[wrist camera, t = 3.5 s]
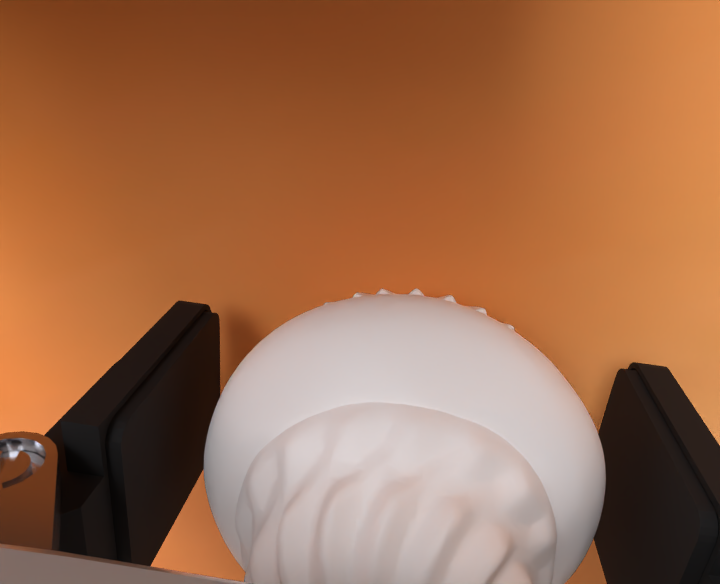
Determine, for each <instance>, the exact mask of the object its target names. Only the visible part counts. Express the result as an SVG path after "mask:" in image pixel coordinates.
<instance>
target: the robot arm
mask: <svg viewBox="0 0 720 584" xmlns="http://www.w3.org/2000/svg"><path fill="white" fill-rule="evenodd" d="M219 398H220V327H219V316H218V314H217V313H212V312H211V310H210V307H209V305H207V304H200V303H192V302H185V301H178V302H176V303H175V304H174V305H173V306H172V308H171V309H170V310H169V311H168V312H167V313H166V314H165V315H164V316H163V317H162V318H161V319H160V320H159V321H158V322H157V323H156V324H155V325H154V326H153V327H152V328H151V329H150V330H149V331H148V332H147V333H146V334H145V335H144V336H143V337H142V338H141V339H140V340H139V341H138V342H137V343H136V344H135V345H134V346H133V347H132V348H131V349H130V350H129V351H128V352H127V353H126V354H125V355H124V356H123V357H122V358H121V360H119V361H118V362H116V363H115V364H114V365H113V366H112V367H111V368H110V369H109V370H108V371H107V372H106V373H105V374H104V375H103V376H102V377H101V378H100V379H99V380H98V381H97V382H96V383H95V384H94V385H93V386H92V387H91V388H90V389H89V390H88V391H87V392H86V393H85V395H84V396H83V397H82V398H81V399H80V400H79V401H78V402H77V403H76V404H75V405H74V406H73V407H72V408H71V409H70V410H69V411H68V412H67V413H66V414H65V415H64V416H63V417H62V418H61V419H60V420H59V421H58V422H57V423H56V424H55V425H54V426H53V427H52V428H51V429H50V430H49V431H48V432H47V433H46V434H45V435H44V436H43V435H41V434H38V433H32V432H24V431H23V432H8V433H3V434H0V584H253V583H247V582H241V581H235V580H229V579H223V578H217V577H211V576H205V575H199V574H193V573H187V572H181V571H175V570H169V569H163V568H157V567H151V564H152V562H153V560H154V558H155V557H156V555H157V553H158V551H159V549H160V547H161V546H162V544H163V542H164V540H165V538H166V536H167V535H168V533H169V531H170V529H171V527H172V525H173V524H174V522H175V520H176V518H177V516H178V514H179V513H180V511H181V509H182V507H183V505H184V504H185V502H186V500H187V498H188V496H189V494H190V493H191V491H192V489H193V487H194V485H195V483H196V482H197V480H198V478H199V476H200V474H201V472H202V471H203V469H204V451H205V444H206V439H207V434H208V429H209V426H210V422H211V419H212V416H213V413H214V410H215V407H216V405H217V403H218V400H219ZM598 435H599V438H600V441H601V445H602V449H603V453H604V460H605V469H606V486H605V496H604V504H603V509H602V513H601V517H600V521H599V524H598V527H597V530H596V533H595V536H594V541H595V544H596V548H597V551H598V554H599V558H600V561H601V565H602V568H603V571H604V575H605V578H606V581H607V584H720V446H719V444H718V443H717V441H716V440H715V438H714V437H713V435H712V434H711V432H710V431H709V429H708V428H707V426H706V425H705V423H704V422H703V420H702V419H701V417H700V416H699V414H698V413H697V411H696V410H695V408H694V407H693V405H692V404H691V402H690V401H689V399H688V398H687V396H686V395H685V393H684V391H683V390H682V388H681V387H680V385H679V384H678V382H677V381H676V379H675V378H674V376H673V375H672V373H671V372H670V370H669V369H668V368H667V367H663V366H656V365H649V364H641V363H634V362H633V363H632V364H630V366H629V367H628V369H620V370H619V371H618V372H617V375H616V377H615V381H614V384H613V387H612V390H611V394H610V397H609V400H608V404H607V407H606V410H605V413H604V417H603V420H602V423H601V426H600V430H599V433H598Z"/></svg>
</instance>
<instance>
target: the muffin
mask: <svg viewBox="0 0 720 584" xmlns="http://www.w3.org/2000/svg"><path fill="white" fill-rule="evenodd" d="M204 481H205V488H206V493H207V497H208V501H209V505H210V508H211V511H212V514H213V517H214V519H215V522H216V524H217V527H218V529H219V531H220V533H221V536H222V538H223V540H224V542H225V543H226V545H227V547H228V548H229V550H230V552H231V553H232V555H233V556H234V558H235V559H236V561H237V562H238V563H239V565H240V566H241V567H242V568H243V570H244V571H245V573H246V574H245V578H244V582H247V583H253V584H564V583H565V582H566V581H567V580H568V579H569V578H570V577H571V576H572V575H573V573H574V572H575V571H576V569H577V568H578V566H579V565H580V563H581V562H582V560H583V559H584V557H585V555H586V553H587V551H588V549H589V547H590V545H591V543H592V541H593V538H594V536H595V533H596V530H597V527H598V524H599V521H600V517H601V513H602V509H603V504H604V496H605V486H606V469H605V460H604V453H603V449H602V445H601V441H600V438H599V435H598V432H597V430H596V427H595V425H594V423H593V420H592V418H591V417H590V415H589V413H588V411H587V409H586V408H585V406H584V404H583V402H582V401H581V399H580V398H579V396H578V395H577V393H576V392H575V391H574V389H573V388H572V386H571V385H570V384H569V382H568V381H567V380H566V379H565V377H564V376H563V375H562V374H561V372H560V371H559V370H558V369H557V368H556V366H555V365H554V364H553V363H552V362H551V361H550V360H549V359H548V358H547V357H546V356H545V355H544V354H543V353H542V352H541V351H539V350H538V349H537V348H536V347H535V346H534V345H532V344H531V343H530V342H529V341H527V340H526V339H525V338H523V337H522V336H521V335H519V334H518V333H516V332H515V329H514V327H513V326H511V325H510V324H506V323H501V322H499V321H497V320H495V319H493V318H491V317H489V316H487V313H486V310H485V308H482V307H475V306H463V305H460V304H457V303H456V301H455V299H454V297H453V296H452V295H447V296H442V297H438V298H434V297H428V296H424V295H423V293H422V292H421V291H420V290H419V289H414V290H412V291H411V292H410V293H409V294H395V293H393V292H391V291H389V290H386V289H383V288H382V289H380V290H379V291H378V292H377V294H376V295H373V294H367V293H360V292H357V293H356V294H354V295H353V297H352V298H349V299H344V300H340V301H336V302H326V303H324V305H322V306H319V307H316V308H314V309H311V310H309V311H307V312H304V313H302V314H300V315H298V316H296V317H294V318H292V319H291V320H289V321H287V322H285V323H284V324H282V325H281V326H279V327H278V328H276V329H275V330H273V331H272V332H271V333H270V334H269V335H267V336H266V337H265V338H264V339H263V340H262V341H260V342H259V343H258V344H257V345H256V346H255V347H254V348H253V349H252V350H251V351H250V352H249V353H248V354H247V356H246V357H245V358H244V359H243V360H242V362H241V363H240V364H239V366H238V367H237V368H236V370H235V371H234V373H233V374H232V376H231V377H230V379H229V380H228V382H227V384H226V386H225V388H224V390H223V392H222V394H221V396H220V398H219V400H218V403H217V405H216V407H215V410H214V413H213V416H212V419H211V422H210V426H209V429H208V434H207V439H206V444H205V451H204Z"/></svg>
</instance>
